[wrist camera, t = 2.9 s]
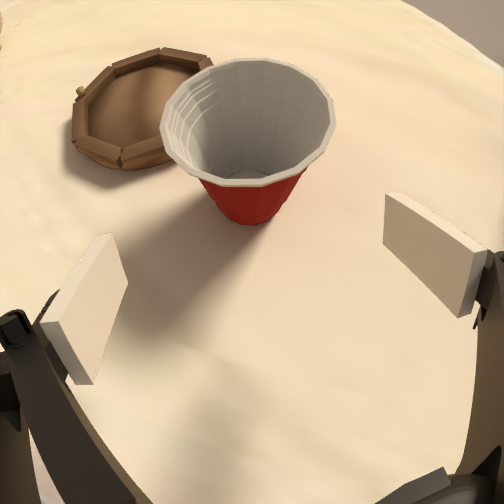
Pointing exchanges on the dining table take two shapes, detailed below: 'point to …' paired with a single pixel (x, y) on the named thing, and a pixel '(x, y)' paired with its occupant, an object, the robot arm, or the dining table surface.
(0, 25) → the ceramic pitcher
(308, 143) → the plastic cup
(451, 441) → the dining table surface
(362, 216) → the dining table surface
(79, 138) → the octagonal wooden tray
